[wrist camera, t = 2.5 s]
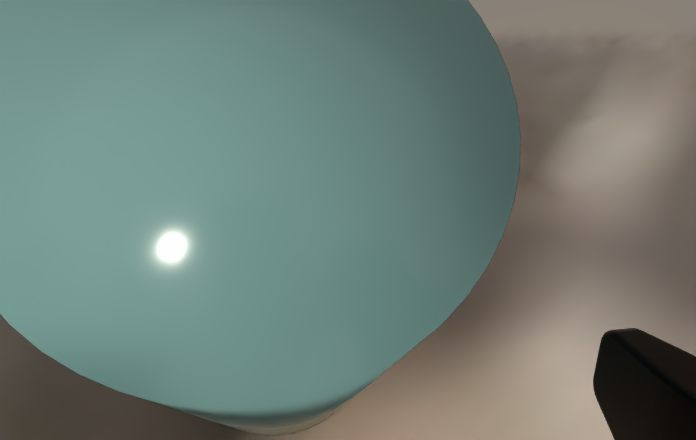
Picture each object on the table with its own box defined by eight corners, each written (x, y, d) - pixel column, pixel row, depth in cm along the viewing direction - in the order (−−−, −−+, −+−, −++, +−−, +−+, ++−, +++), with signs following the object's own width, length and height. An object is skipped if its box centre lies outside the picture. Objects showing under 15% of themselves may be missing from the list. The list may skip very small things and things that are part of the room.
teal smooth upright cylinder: (406, 345, 18) (631, 145, 6) (263, 479, 16) (185, 565, 4) (287, 213, 19) (277, -179, 7) (141, 327, 17) (-180, 75, 6)
